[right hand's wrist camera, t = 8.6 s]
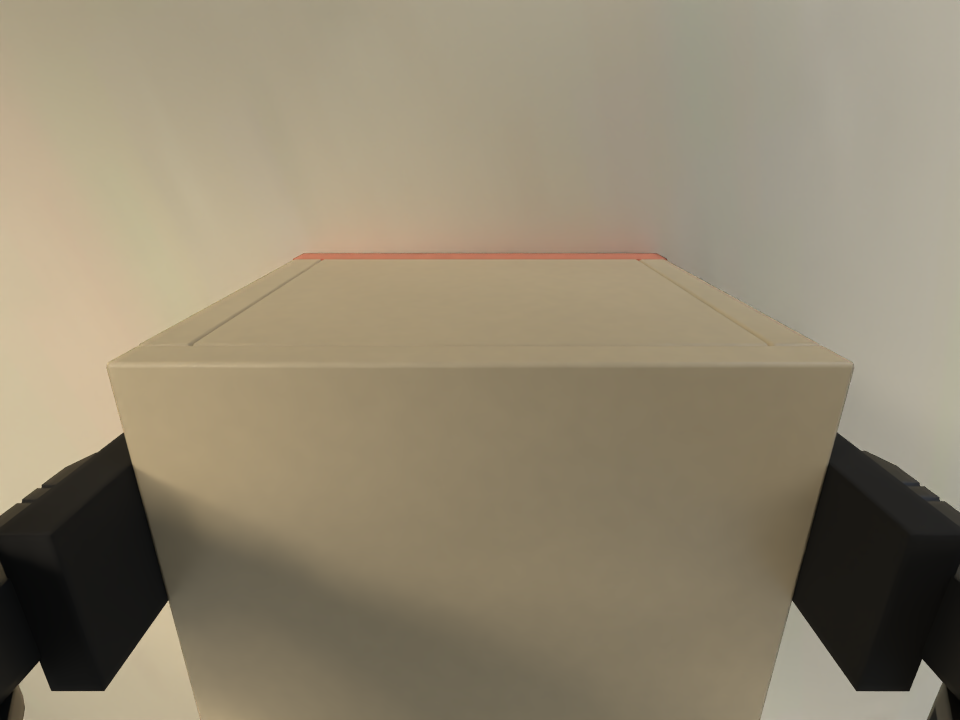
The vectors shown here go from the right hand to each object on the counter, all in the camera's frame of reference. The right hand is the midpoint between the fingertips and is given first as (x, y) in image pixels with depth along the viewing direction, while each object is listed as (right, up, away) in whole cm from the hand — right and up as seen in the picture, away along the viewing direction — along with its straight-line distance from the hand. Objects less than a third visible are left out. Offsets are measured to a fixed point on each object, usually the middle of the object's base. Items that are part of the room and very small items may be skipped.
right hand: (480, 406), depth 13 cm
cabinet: (0, -4, +6) cm, 8 cm away
